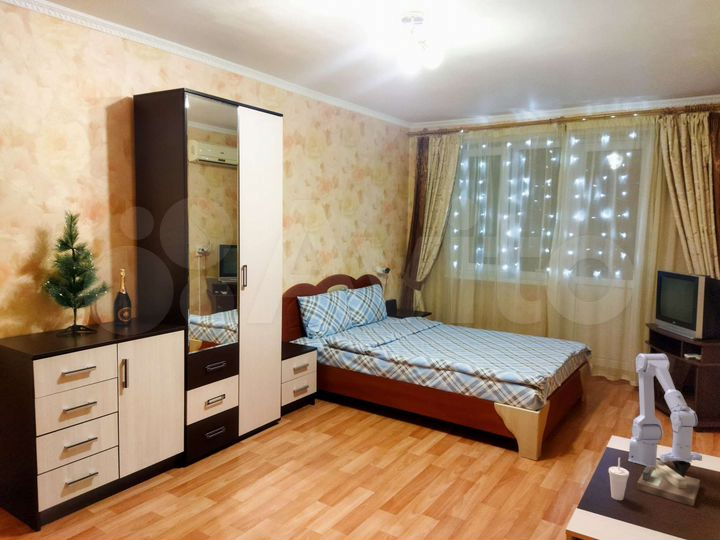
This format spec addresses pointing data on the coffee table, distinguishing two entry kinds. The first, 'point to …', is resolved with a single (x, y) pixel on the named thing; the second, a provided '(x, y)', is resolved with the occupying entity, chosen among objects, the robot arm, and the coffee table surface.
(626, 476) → the smoothie
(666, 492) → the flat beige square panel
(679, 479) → the hinged leg
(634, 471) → the coffee table surface
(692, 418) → the robot arm
